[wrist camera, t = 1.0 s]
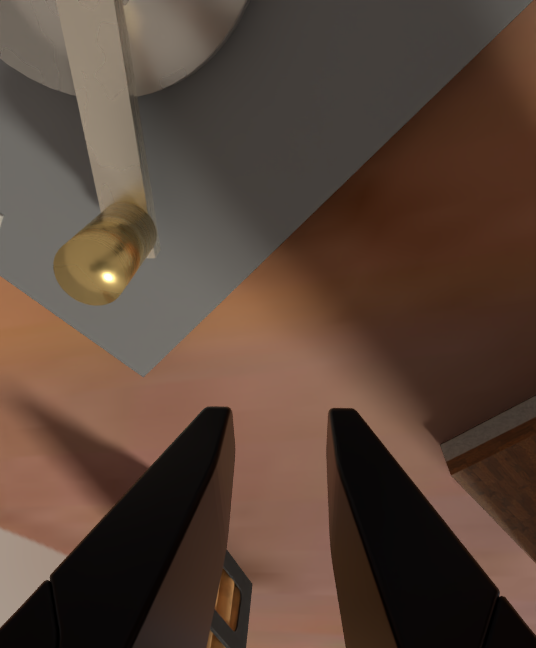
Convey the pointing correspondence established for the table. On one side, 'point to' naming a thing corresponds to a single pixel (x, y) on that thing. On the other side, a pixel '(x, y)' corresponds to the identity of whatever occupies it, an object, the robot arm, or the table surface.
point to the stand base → (227, 152)
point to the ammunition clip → (231, 608)
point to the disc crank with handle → (113, 109)
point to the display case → (501, 470)
